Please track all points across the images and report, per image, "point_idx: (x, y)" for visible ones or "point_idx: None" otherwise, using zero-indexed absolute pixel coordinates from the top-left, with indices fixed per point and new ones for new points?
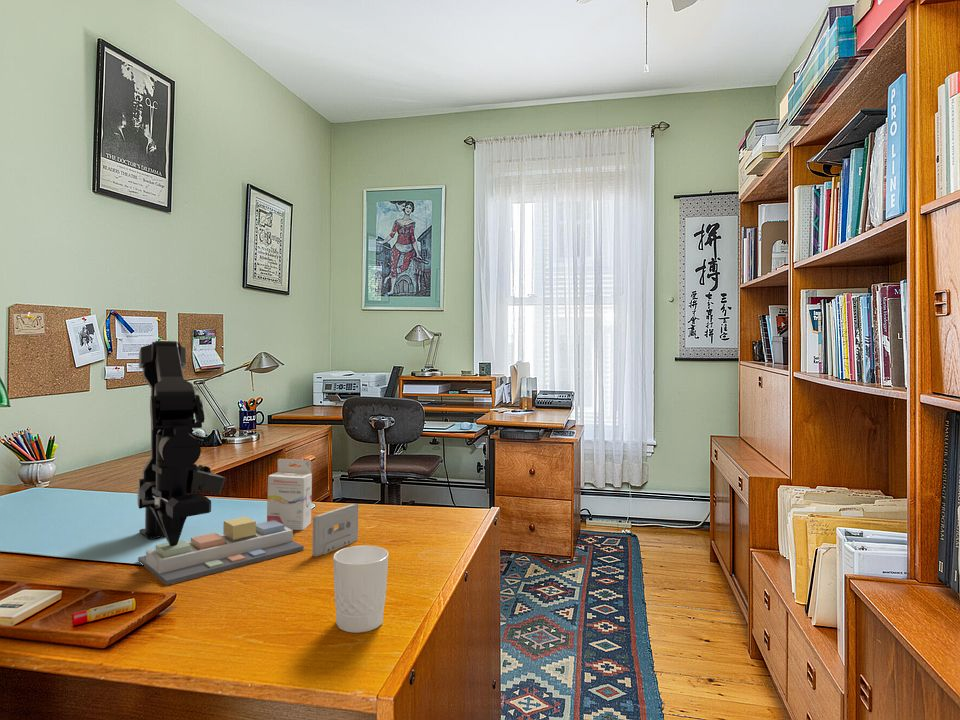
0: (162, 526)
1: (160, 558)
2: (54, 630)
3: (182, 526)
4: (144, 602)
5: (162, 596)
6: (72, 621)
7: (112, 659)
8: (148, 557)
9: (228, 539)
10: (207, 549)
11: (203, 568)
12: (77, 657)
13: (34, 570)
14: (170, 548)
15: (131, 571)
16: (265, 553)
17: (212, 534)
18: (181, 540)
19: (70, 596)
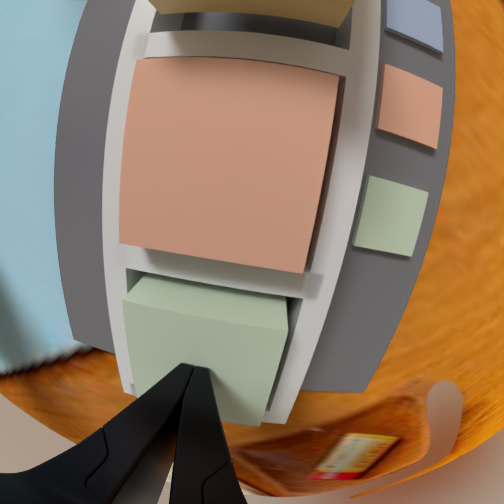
0: (158, 497)
1: None
2: (343, 487)
3: (234, 473)
4: (391, 426)
5: (404, 401)
6: (339, 480)
7: (465, 450)
8: None
9: None
10: (345, 230)
11: (390, 274)
12: (428, 470)
13: (55, 420)
14: (243, 404)
15: None
16: (439, 12)
17: (164, 91)
18: (139, 311)
19: None
